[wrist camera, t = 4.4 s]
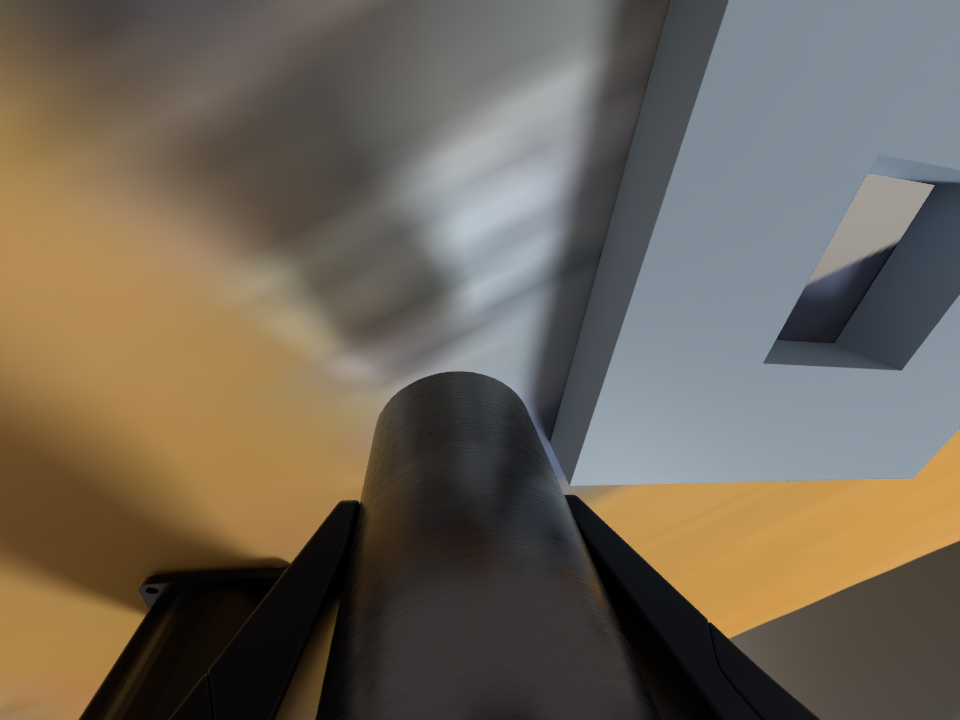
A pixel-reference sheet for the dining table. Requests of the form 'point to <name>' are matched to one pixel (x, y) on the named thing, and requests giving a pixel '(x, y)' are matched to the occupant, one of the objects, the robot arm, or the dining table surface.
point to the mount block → (774, 253)
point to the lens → (472, 576)
